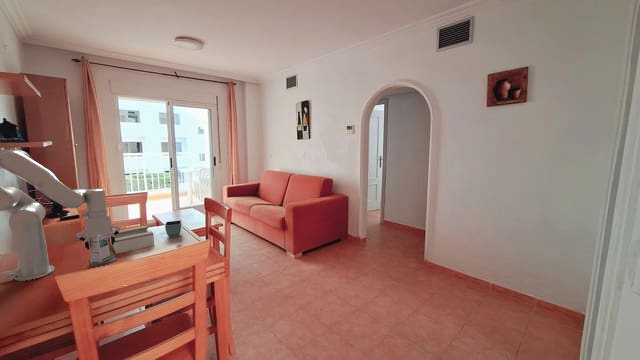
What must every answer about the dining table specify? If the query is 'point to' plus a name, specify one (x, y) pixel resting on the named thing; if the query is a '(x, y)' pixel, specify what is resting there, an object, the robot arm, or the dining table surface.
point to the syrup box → (100, 248)
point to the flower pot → (173, 228)
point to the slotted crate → (133, 239)
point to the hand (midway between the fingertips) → (100, 246)
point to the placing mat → (103, 261)
